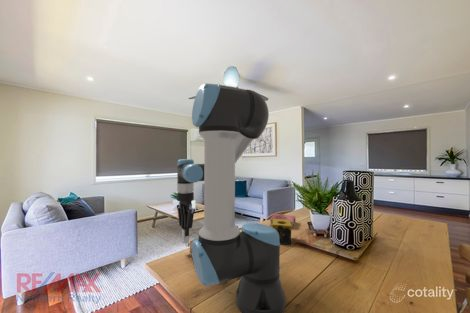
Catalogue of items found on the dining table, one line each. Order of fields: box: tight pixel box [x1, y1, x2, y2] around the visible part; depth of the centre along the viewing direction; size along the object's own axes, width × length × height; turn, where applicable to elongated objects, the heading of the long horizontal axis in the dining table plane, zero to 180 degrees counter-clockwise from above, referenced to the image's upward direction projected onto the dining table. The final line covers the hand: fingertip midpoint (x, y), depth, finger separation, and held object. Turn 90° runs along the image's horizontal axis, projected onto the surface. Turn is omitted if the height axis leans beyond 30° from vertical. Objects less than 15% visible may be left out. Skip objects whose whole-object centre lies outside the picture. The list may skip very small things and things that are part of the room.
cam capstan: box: [189, 240, 194, 254], centre depth 96 cm, size 15×6×5 cm, turn 134°
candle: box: [272, 219, 292, 246], centre depth 111 cm, size 10×10×10 cm
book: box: [269, 213, 296, 230], centre depth 137 cm, size 14×15×5 cm
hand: (185, 242), depth 96 cm, fingers closed
